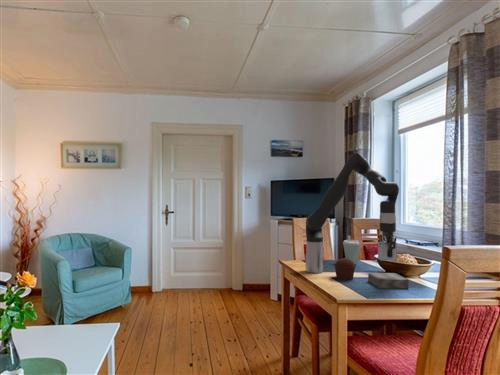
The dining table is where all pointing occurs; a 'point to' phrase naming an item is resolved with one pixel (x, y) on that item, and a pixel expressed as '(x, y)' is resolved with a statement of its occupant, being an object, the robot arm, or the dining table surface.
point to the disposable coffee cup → (351, 250)
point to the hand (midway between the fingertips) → (387, 256)
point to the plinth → (388, 280)
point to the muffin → (344, 269)
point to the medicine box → (383, 252)
